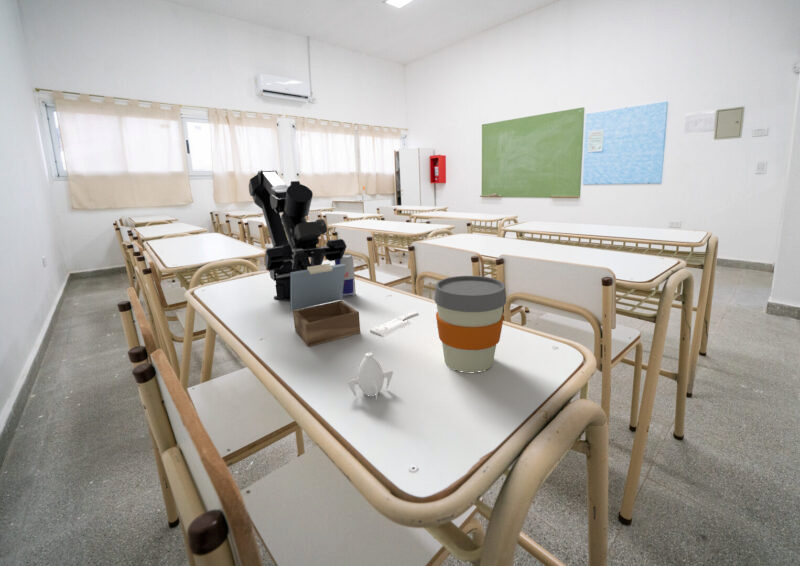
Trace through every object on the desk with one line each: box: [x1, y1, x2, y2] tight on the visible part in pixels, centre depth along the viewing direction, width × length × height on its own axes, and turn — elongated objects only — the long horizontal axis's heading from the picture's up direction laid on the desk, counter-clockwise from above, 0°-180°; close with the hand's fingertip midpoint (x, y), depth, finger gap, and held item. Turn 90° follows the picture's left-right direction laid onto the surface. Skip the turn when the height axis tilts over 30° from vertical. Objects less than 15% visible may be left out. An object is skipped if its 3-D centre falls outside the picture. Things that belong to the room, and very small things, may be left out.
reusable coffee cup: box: [434, 275, 507, 372], centre depth 67 cm, size 13×13×15 cm
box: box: [292, 300, 361, 347], centre depth 84 cm, size 10×12×5 cm
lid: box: [290, 263, 346, 311], centre depth 84 cm, size 11×12×2 cm
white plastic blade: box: [369, 311, 419, 338], centre depth 87 cm, size 5×15×1 cm, turn 136°
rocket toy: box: [347, 349, 394, 402], centre depth 59 cm, size 5×5×8 cm
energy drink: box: [334, 253, 357, 299], centre depth 109 cm, size 5×5×12 cm
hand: (317, 283), depth 84 cm, fingers closed, pressing on lid
